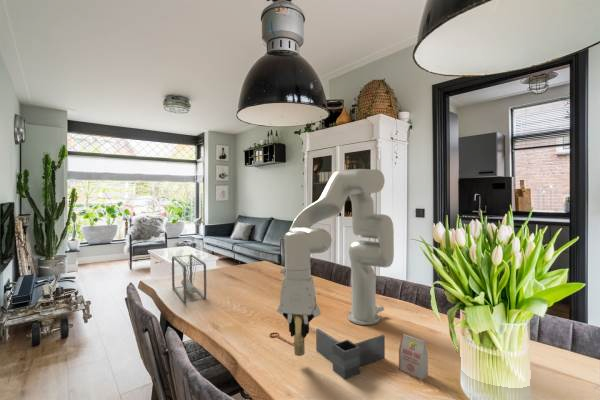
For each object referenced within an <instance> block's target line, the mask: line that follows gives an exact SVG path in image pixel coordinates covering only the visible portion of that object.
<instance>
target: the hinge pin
mask: <svg viewBox="0 0 600 400" xmlns="http://www.w3.org/2000/svg"><path fill="white" fill-rule="evenodd" d="M303 323H304V316H303V315H298V314H294V336H293V340H294V341H293V343H294V346H293V347H294V348H293V349H294V355H295V356H298V357H300V356H301V357H302V356H304V355H305V353H306V352H305V338H303V327H302V325H303Z"/></svg>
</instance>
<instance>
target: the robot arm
mask: <svg viewBox="0 0 600 400" xmlns="http://www.w3.org/2000/svg"><path fill="white" fill-rule="evenodd" d="M385 182H386V181H385V176H384V174H383V172H382V171H381V170H380V169H378V168H377V169H364V168H355V169H352V168H351V169H340V170H336V171H334V172H333V173H332V174H331V176H330V178H329V179H328V180H327V183H326V185H325V186H324V189H323V191H322V192H321V194H320V196H319V198H318V199H317V200H316V201H315V202H313V203H311V204H309V205H308V206H307V207H305V208H304V209H303V210H301V212H299V213H298V215H297V216H296V217H295V218H294V220H293V222H292V224H291V225H290V227H289V229H288V231H287V232H285V234H284V237H283V238H284V242H283V243H284V268H280V271H279V272H280V274H282V275H284V277H282V279H281V286H280V295H279V297H280V298H279V299H280V300H279V306H278V308H277V309H276V312H277V313H279V314H280V315H282V316H283V317H284V318H285V320H286V322H287V323H288V332H289V333H290V337H292V338H294V314H298V315H303V316H304V323H303V325H302V327H303V338H304V339H306V337H307V335H308V334H309V333H310V322H311V321H312V320H313V319H315V318H317V317H319V316H321V313H322V311H321V309H320V307H319V306H318V304H317V295H316V287H315V280H314V278H313V277H312V274H311V273H312V272H311V255H313V254H323V253H326V251H328V250H329V249H330V247H331V245H332V242H333V241H332V235H331V234H330V232H329V231H328V230H326V229H324V228H319V227H317V228H316V227H312V226H314V225H316V224H317V223H319V222H321V221H324V220H327V219H330V218H333V217H335V216H337V215H339V214H340V213H341V212H342V210H343V207H344V206H345V204H346V202H347V199H348V198H350V199H349V200H350V202H351V215H352V216H351V217H352V220H351V221H352V222H351V223H352V224H351V226H352V232H353V235H355V236H356V237H360V238H366V239H377V240H378V241H372V240H363V239H362V240H354V241H353V242H352V243H351V244H350V245H349V248H348V256H349V257H348V258H349V261H350V269H351V271H350V272H351V273H350V275H351V281H350V283H351V285H350V286H351V312H349V313H348V314H347V320H348V321H350V322H351V323H353V324H356V325H361V326H371V325H376V324H377V323H378V324H379V322H380V320H381V319H380V315H378V314H379V313H381V312H384V311H385V307H384V306H382V305H380V306H377V305H376V304H377V303H376V300H377V299H376V293H377V292H376V288H377V287H376V285H377V284H376V281H377V279H376V273H375V271H374V269H373V267H377V268H389V267H391V266H392V265H393V263H394V257H395V256H394V255H395V251H394V250H395V246H394V245H395V243H394V239H395V238H394V235H395V233H394V232H395V231H394V222H393V220H392V218H391V217H390V216H389V215H387V214H381V213H378V214H377V213H375V210H374V209H375V208H374V207H375V205H374V199H373V197H372V196H371V194H374V193H379V192H381V191H382V190H383V188H384V186H385Z"/></svg>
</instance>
